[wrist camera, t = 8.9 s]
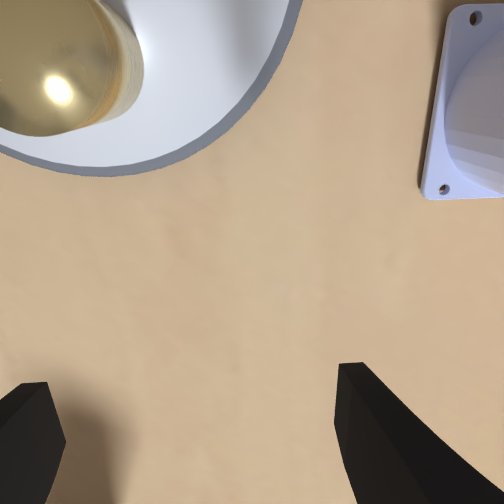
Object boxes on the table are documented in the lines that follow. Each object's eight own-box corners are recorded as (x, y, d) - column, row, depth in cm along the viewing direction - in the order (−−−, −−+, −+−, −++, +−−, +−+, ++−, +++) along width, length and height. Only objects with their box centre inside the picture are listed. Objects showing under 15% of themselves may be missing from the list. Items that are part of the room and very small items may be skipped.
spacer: (129, -12, 12) (79, -61, 8) (154, 116, 14) (123, 127, 10) (9, 2, 12) (-101, -41, 8) (48, 128, 14) (-28, 144, 10)
